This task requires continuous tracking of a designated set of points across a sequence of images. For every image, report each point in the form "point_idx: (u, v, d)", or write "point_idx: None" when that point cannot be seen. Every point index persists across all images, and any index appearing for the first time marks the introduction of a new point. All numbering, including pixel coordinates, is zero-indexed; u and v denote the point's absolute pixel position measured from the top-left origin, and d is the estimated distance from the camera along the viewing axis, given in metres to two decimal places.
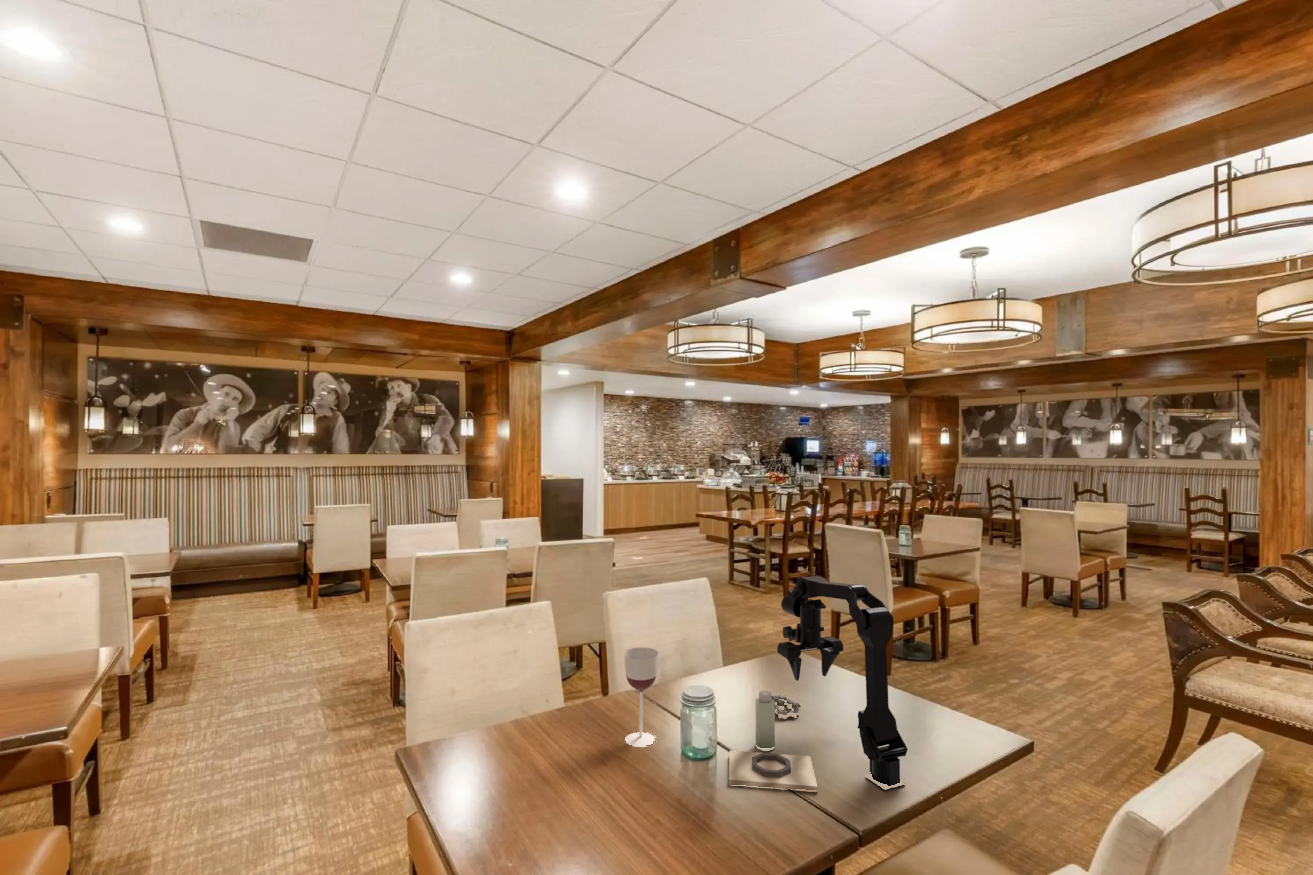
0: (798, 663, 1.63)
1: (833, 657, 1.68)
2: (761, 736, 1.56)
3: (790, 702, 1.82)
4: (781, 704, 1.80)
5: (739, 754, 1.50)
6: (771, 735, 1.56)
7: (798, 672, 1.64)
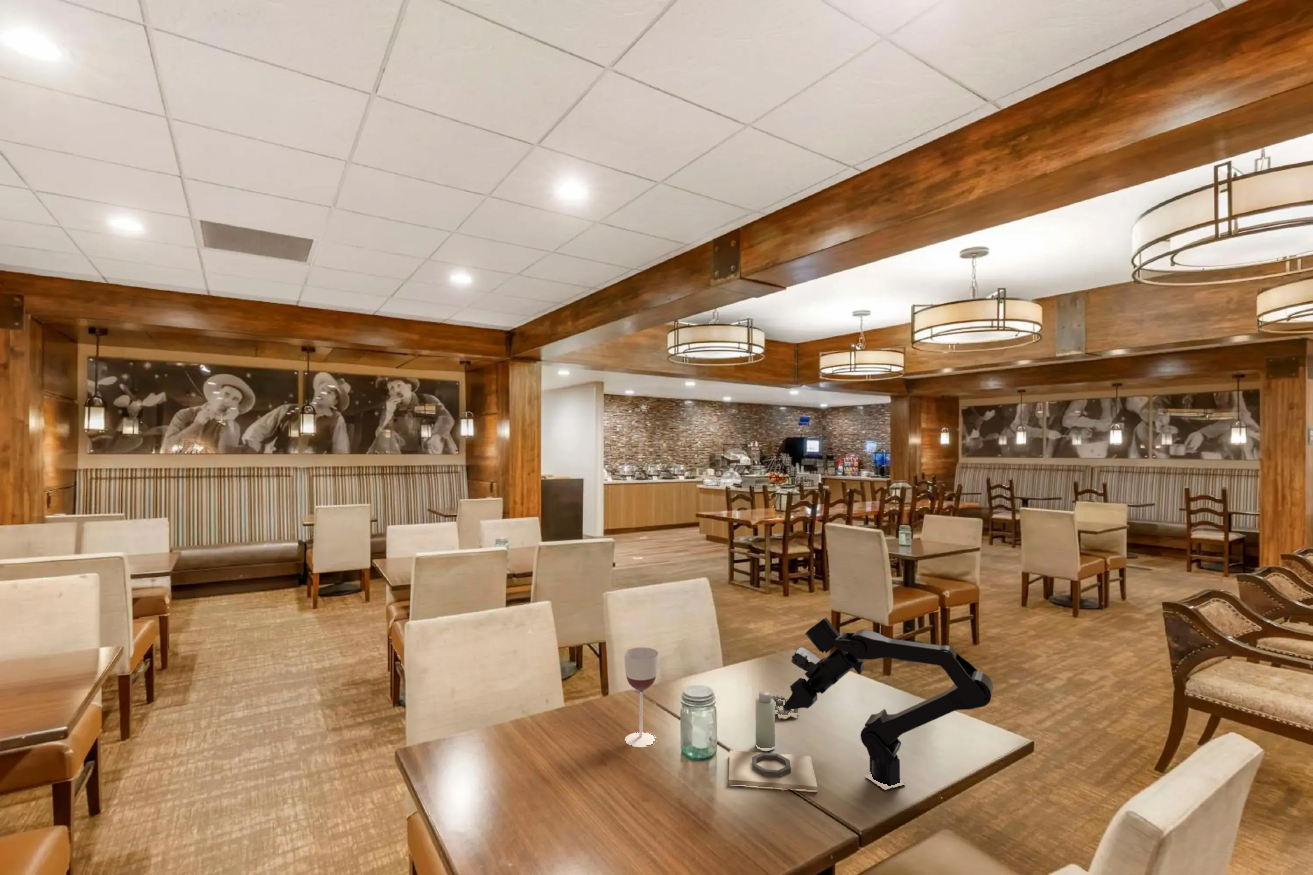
0: None
1: None
2: (761, 736, 1.56)
3: None
4: (780, 704, 1.80)
5: (739, 754, 1.50)
6: (771, 735, 1.56)
7: None
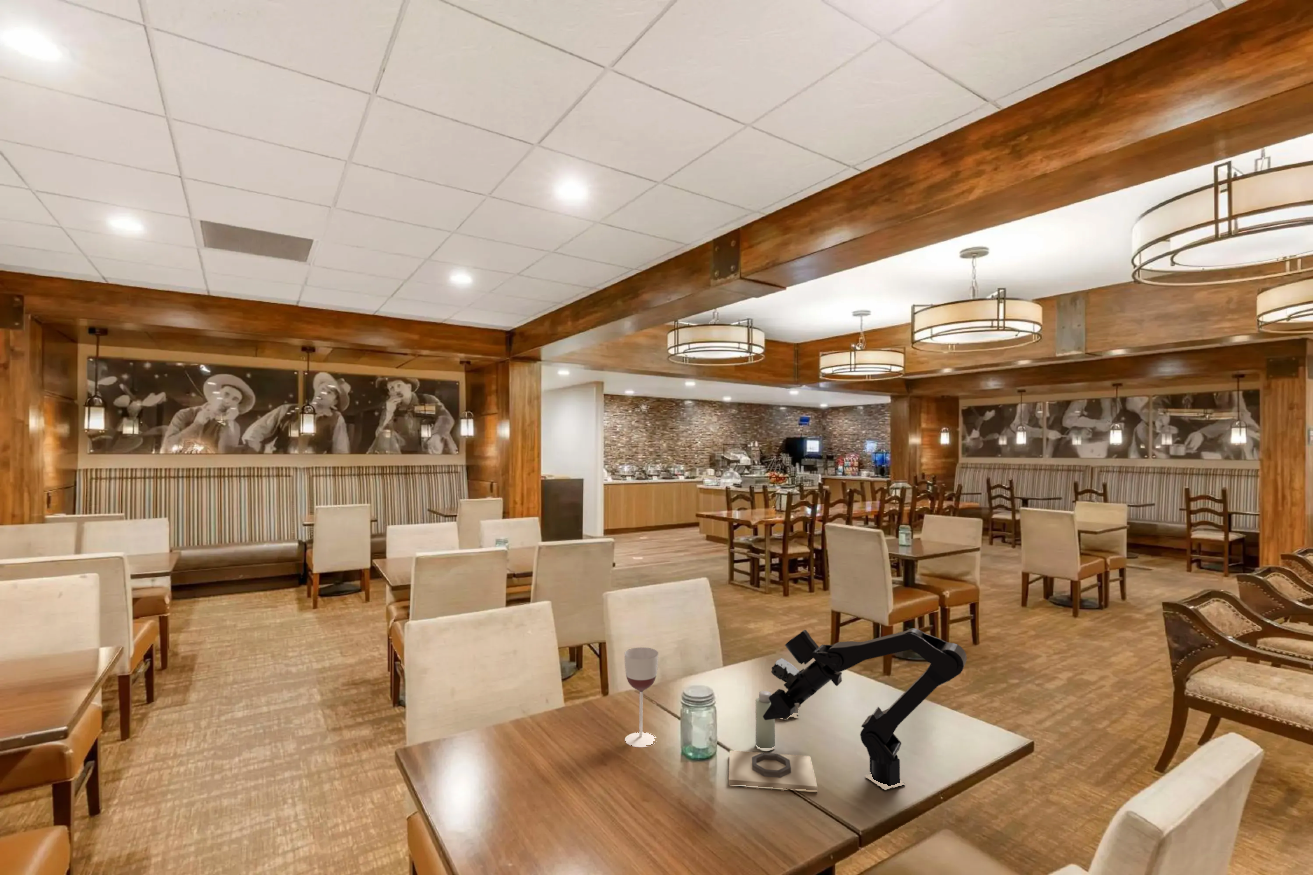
0: None
1: None
2: (761, 736, 1.56)
3: None
4: None
5: (739, 754, 1.50)
6: (771, 735, 1.56)
7: None
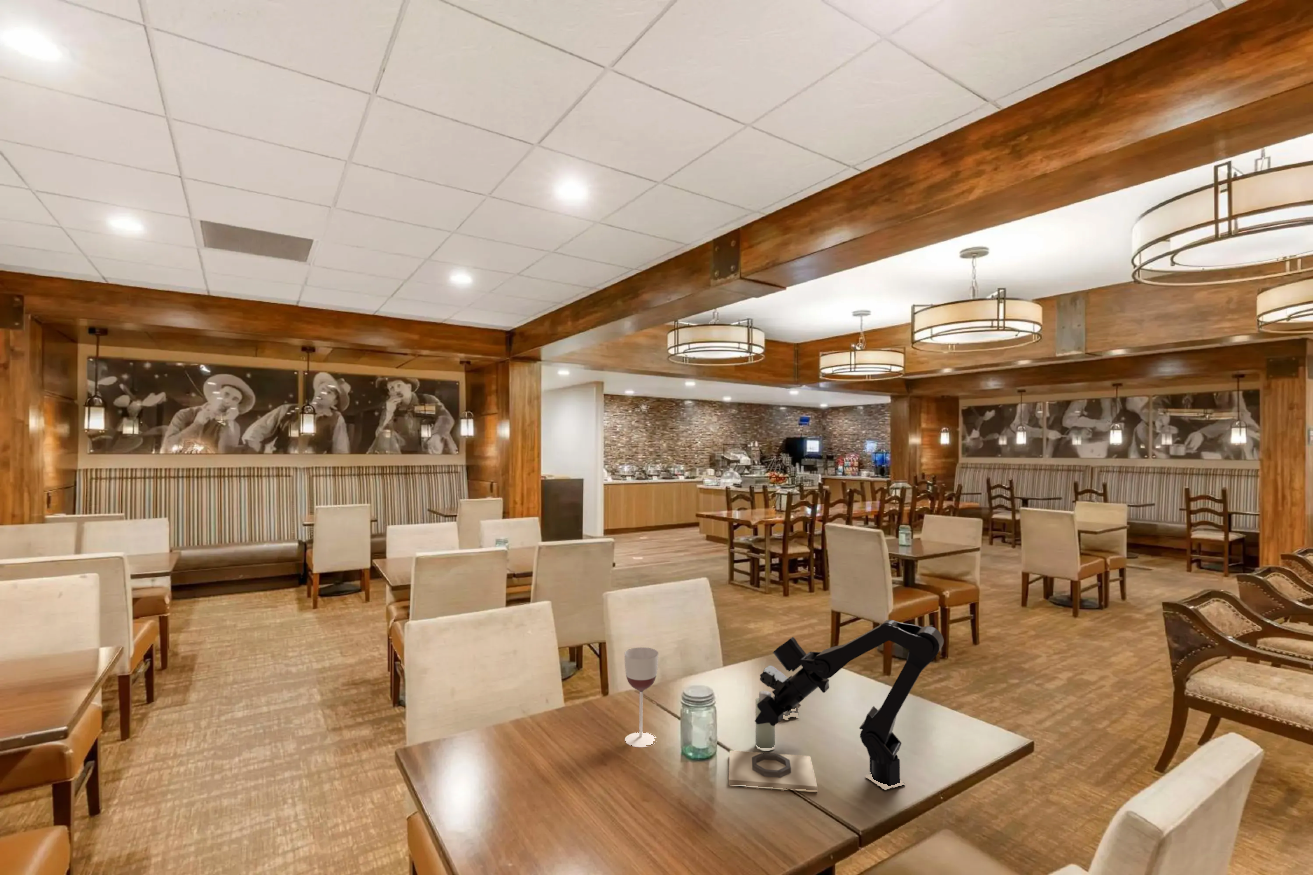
0: None
1: None
2: (761, 736, 1.56)
3: None
4: None
5: (739, 754, 1.50)
6: (771, 734, 1.56)
7: None
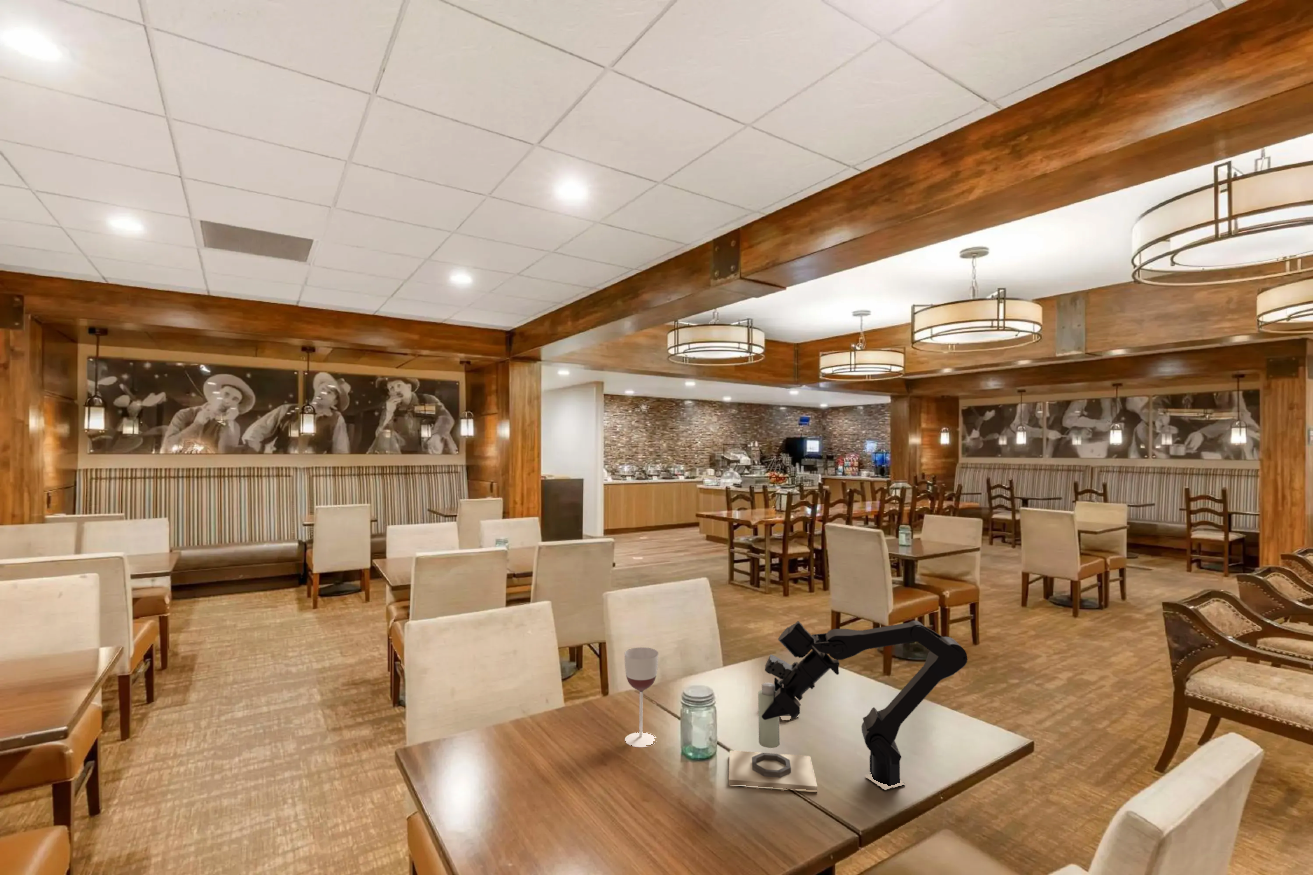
0: None
1: None
2: (768, 732, 1.44)
3: None
4: None
5: (739, 754, 1.50)
6: (778, 728, 1.45)
7: None
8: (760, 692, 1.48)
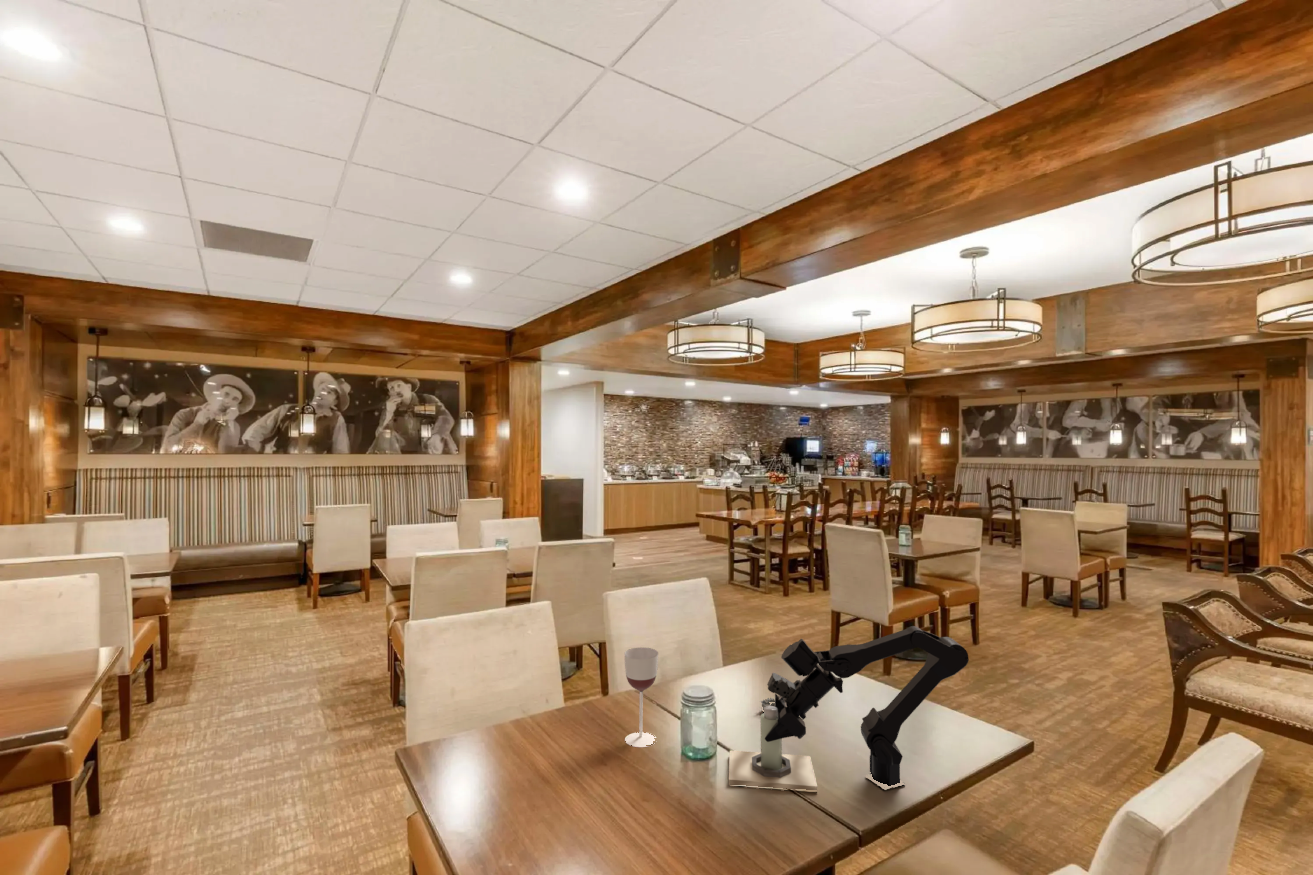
0: None
1: None
2: (772, 757, 1.42)
3: None
4: None
5: (739, 754, 1.50)
6: (781, 752, 1.43)
7: None
8: (762, 716, 1.45)
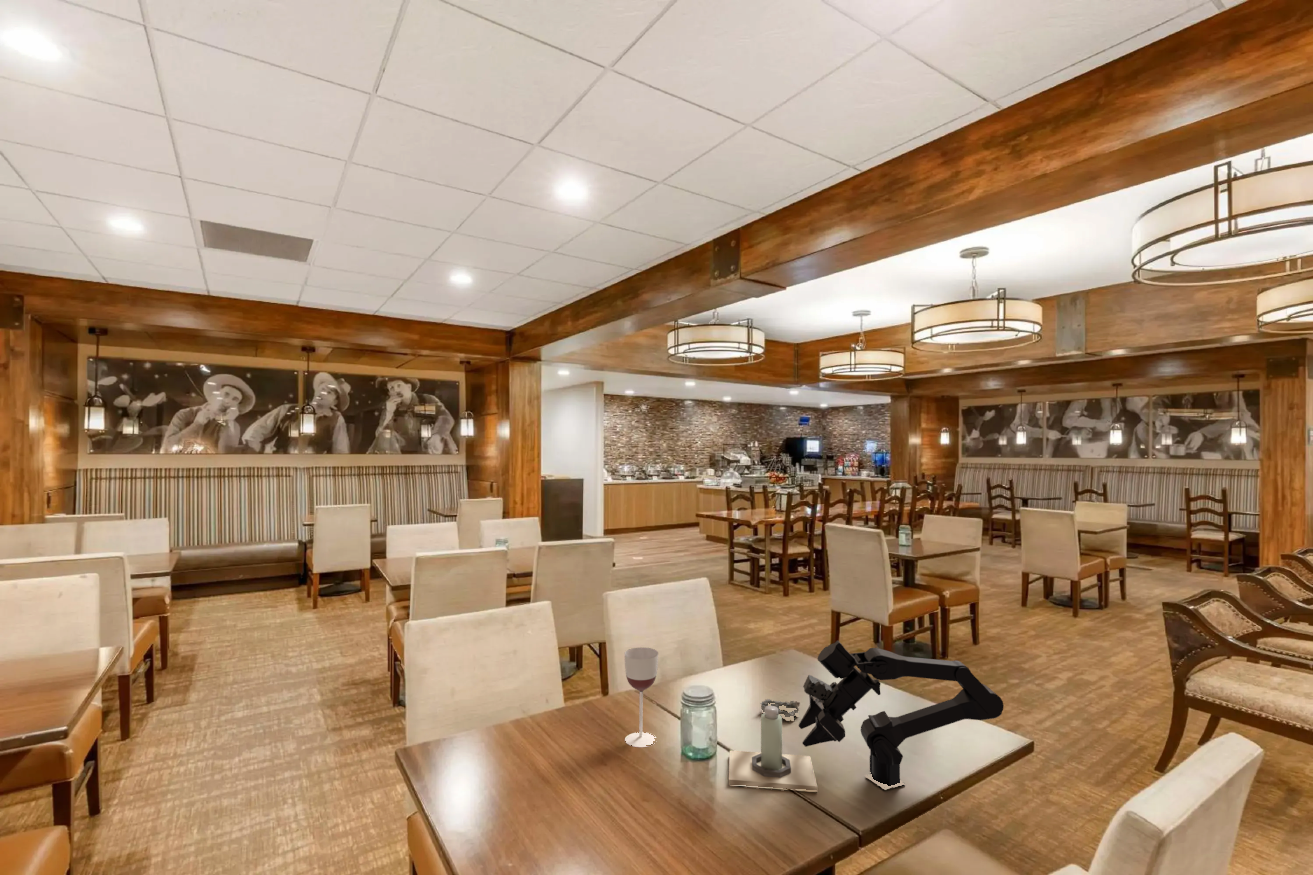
0: None
1: None
2: (772, 757, 1.42)
3: (780, 703, 1.81)
4: (777, 707, 1.78)
5: (739, 754, 1.50)
6: (781, 752, 1.43)
7: None
8: (763, 715, 1.45)
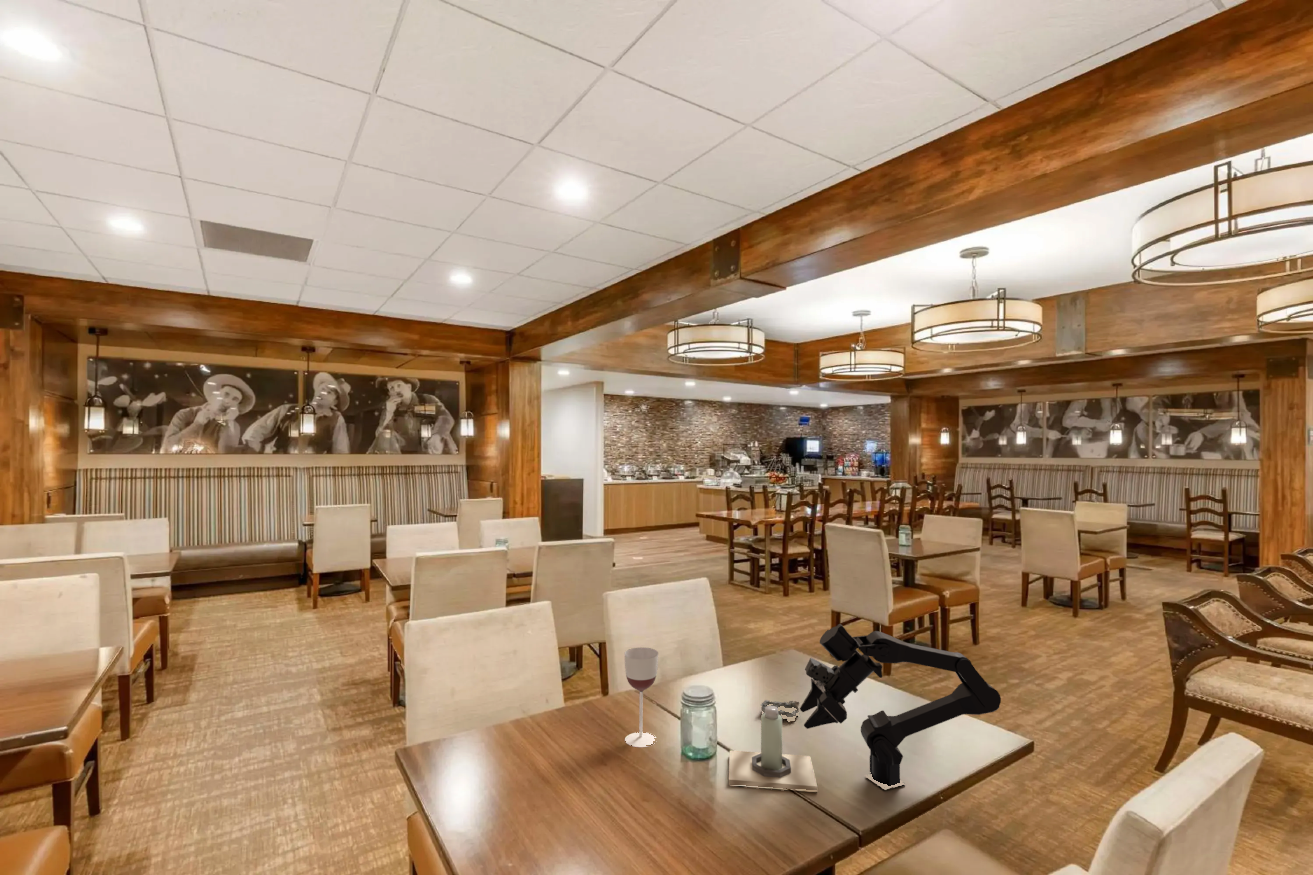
0: None
1: None
2: (772, 757, 1.42)
3: (779, 703, 1.81)
4: None
5: (739, 754, 1.50)
6: (781, 752, 1.43)
7: None
8: (763, 716, 1.45)
